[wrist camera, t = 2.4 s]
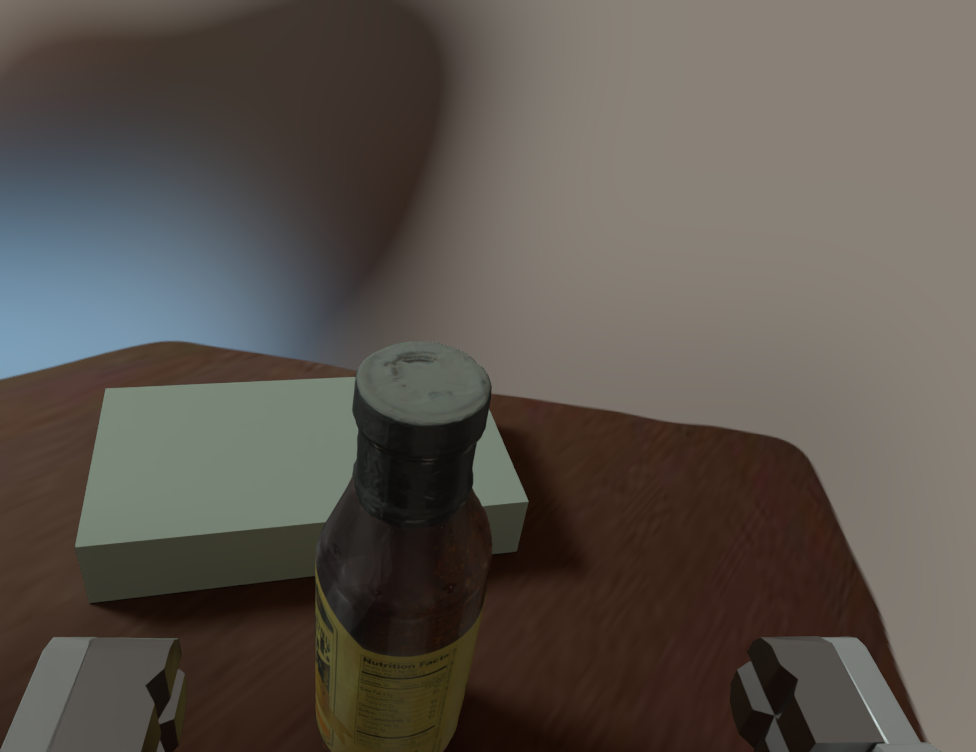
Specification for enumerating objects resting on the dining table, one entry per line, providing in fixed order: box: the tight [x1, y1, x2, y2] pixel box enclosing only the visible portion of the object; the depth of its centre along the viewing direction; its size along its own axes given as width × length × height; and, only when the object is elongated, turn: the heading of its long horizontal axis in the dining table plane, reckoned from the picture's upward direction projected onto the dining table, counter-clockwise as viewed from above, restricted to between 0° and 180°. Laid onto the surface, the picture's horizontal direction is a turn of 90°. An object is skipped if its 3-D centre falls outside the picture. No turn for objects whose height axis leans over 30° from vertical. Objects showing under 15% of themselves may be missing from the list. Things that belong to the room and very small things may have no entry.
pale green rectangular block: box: [75, 377, 529, 603], centre depth 44 cm, size 22×12×4 cm, turn 106°
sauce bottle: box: [315, 341, 492, 752], centre depth 28 cm, size 7×6×20 cm
